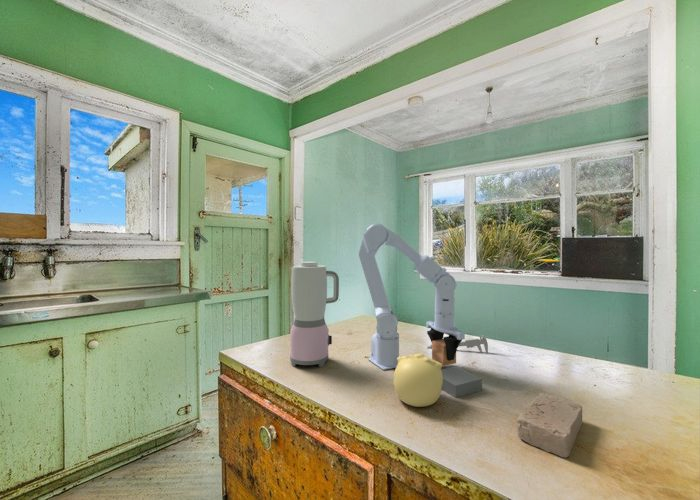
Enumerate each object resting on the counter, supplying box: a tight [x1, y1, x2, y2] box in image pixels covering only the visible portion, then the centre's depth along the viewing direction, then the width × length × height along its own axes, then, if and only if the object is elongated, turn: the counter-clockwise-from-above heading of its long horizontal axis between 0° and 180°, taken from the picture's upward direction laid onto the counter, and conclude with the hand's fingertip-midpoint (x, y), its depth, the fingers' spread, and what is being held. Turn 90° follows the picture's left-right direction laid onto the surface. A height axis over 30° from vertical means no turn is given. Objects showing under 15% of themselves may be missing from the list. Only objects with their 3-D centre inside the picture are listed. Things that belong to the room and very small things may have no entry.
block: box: [431, 339, 457, 367], centre depth 95 cm, size 5×5×6 cm
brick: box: [516, 392, 584, 459], centre depth 63 cm, size 17×8×5 cm, turn 135°
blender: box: [289, 261, 340, 368], centre depth 100 cm, size 16×12×32 cm
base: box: [441, 365, 483, 399], centre depth 82 cm, size 9×9×3 cm
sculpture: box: [392, 352, 443, 408], centre depth 75 cm, size 12×12×11 cm
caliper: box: [426, 335, 489, 354], centre depth 110 cm, size 20×1×6 cm, turn 75°
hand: (443, 356), depth 95 cm, fingers closed on block, 5 cm apart
